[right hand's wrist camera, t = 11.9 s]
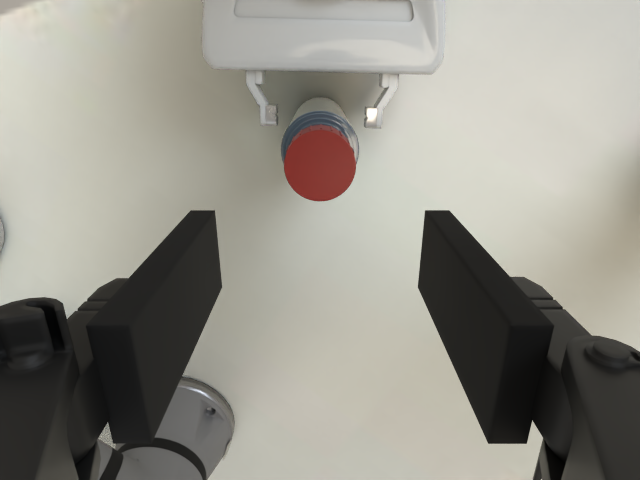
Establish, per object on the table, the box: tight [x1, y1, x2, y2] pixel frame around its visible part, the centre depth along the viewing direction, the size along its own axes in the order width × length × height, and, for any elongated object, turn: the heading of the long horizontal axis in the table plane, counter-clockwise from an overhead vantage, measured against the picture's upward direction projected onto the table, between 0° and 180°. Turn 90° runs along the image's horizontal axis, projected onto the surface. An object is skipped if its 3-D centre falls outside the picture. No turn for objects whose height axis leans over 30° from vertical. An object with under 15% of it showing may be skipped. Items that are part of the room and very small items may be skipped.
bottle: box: [281, 97, 359, 163], centre depth 36 cm, size 6×6×21 cm
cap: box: [284, 124, 356, 201], centre depth 27 cm, size 4×4×3 cm
